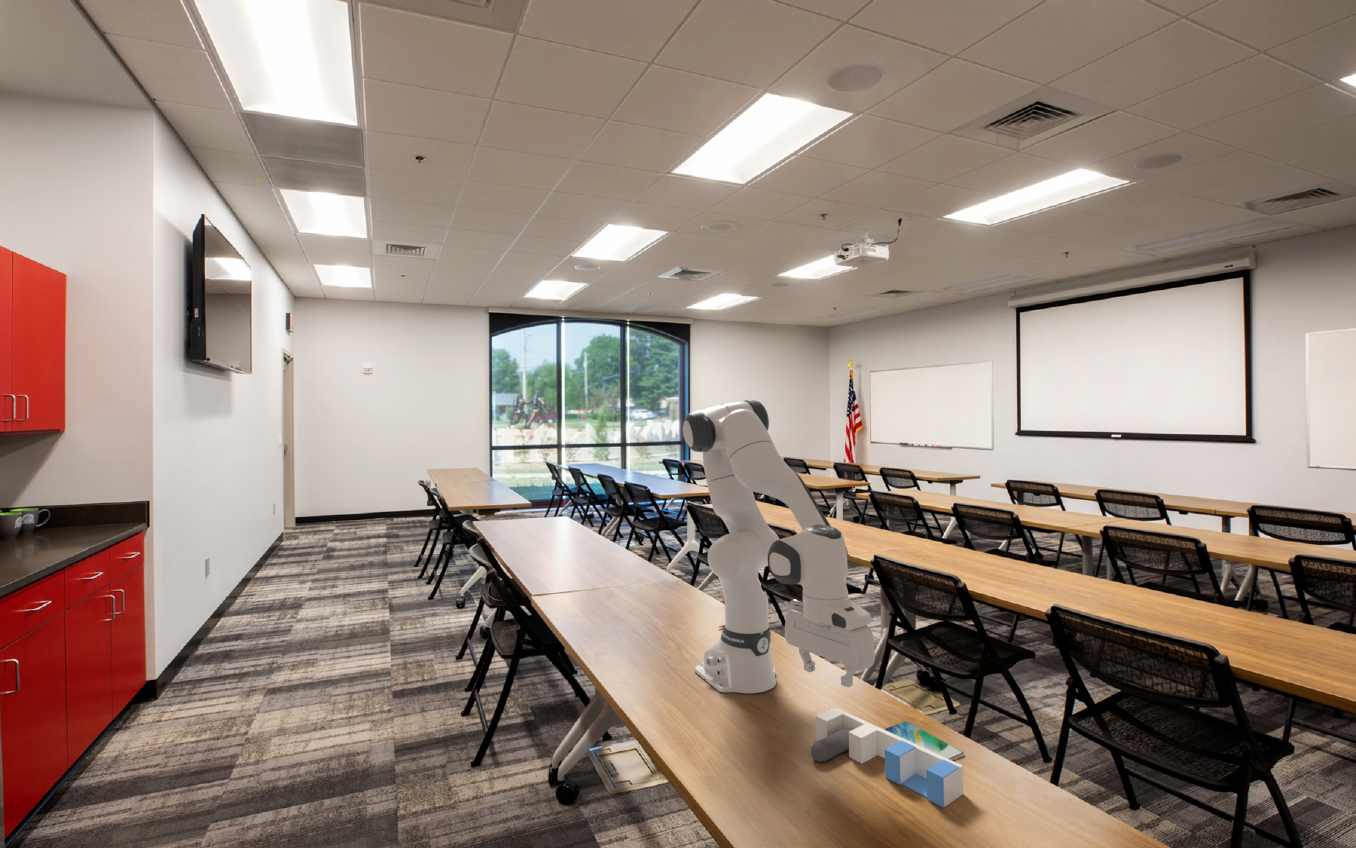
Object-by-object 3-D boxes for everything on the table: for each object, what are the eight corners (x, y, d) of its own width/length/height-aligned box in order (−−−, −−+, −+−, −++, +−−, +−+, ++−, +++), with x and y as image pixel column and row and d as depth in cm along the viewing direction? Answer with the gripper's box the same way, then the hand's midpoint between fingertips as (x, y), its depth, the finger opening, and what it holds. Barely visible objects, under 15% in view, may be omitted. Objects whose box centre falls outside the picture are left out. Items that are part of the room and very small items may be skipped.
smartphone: (940, 763, 118) (882, 729, 131) (940, 768, 118) (882, 733, 131) (965, 753, 121) (906, 720, 135) (966, 757, 121) (906, 724, 135)
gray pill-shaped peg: (807, 760, 121) (806, 741, 121) (845, 741, 128) (844, 724, 128) (821, 768, 118) (821, 749, 118) (859, 748, 125) (859, 730, 125)
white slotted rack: (815, 740, 128) (814, 715, 128) (835, 730, 132) (834, 706, 132) (943, 808, 105) (942, 777, 105) (963, 793, 109) (962, 764, 109)
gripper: (776, 600, 128) (778, 666, 128) (857, 624, 112) (859, 700, 112) (797, 594, 132) (799, 659, 132) (878, 617, 115) (880, 690, 115)
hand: (827, 678), depth 122 cm, fingers open, 8 cm apart
